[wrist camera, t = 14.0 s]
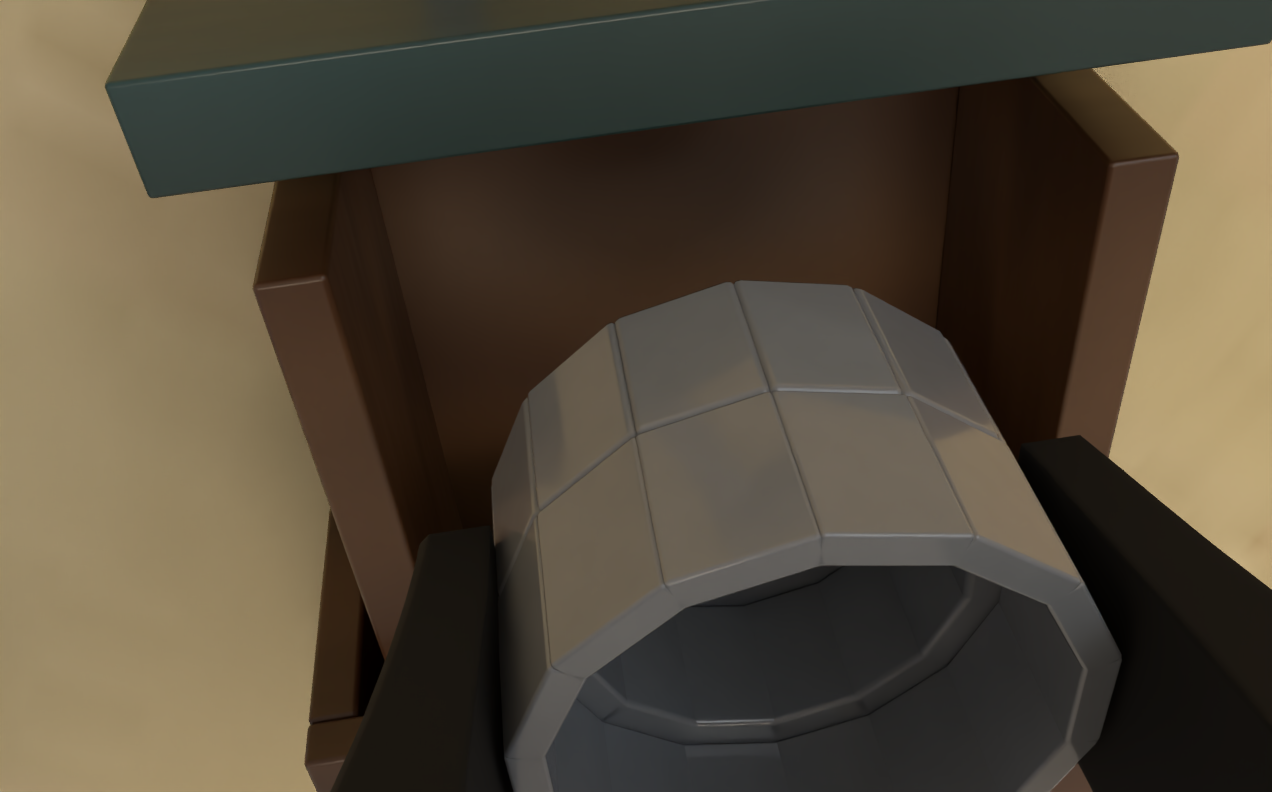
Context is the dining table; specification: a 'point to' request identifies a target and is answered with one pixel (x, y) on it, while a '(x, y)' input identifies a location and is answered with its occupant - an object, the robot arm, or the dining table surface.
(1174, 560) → the robot arm
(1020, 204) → the drawer
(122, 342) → the dining table surface
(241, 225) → the dining table surface
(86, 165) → the dining table surface
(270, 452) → the dining table surface
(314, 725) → the cabinet
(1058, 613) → the grey plastic pail
